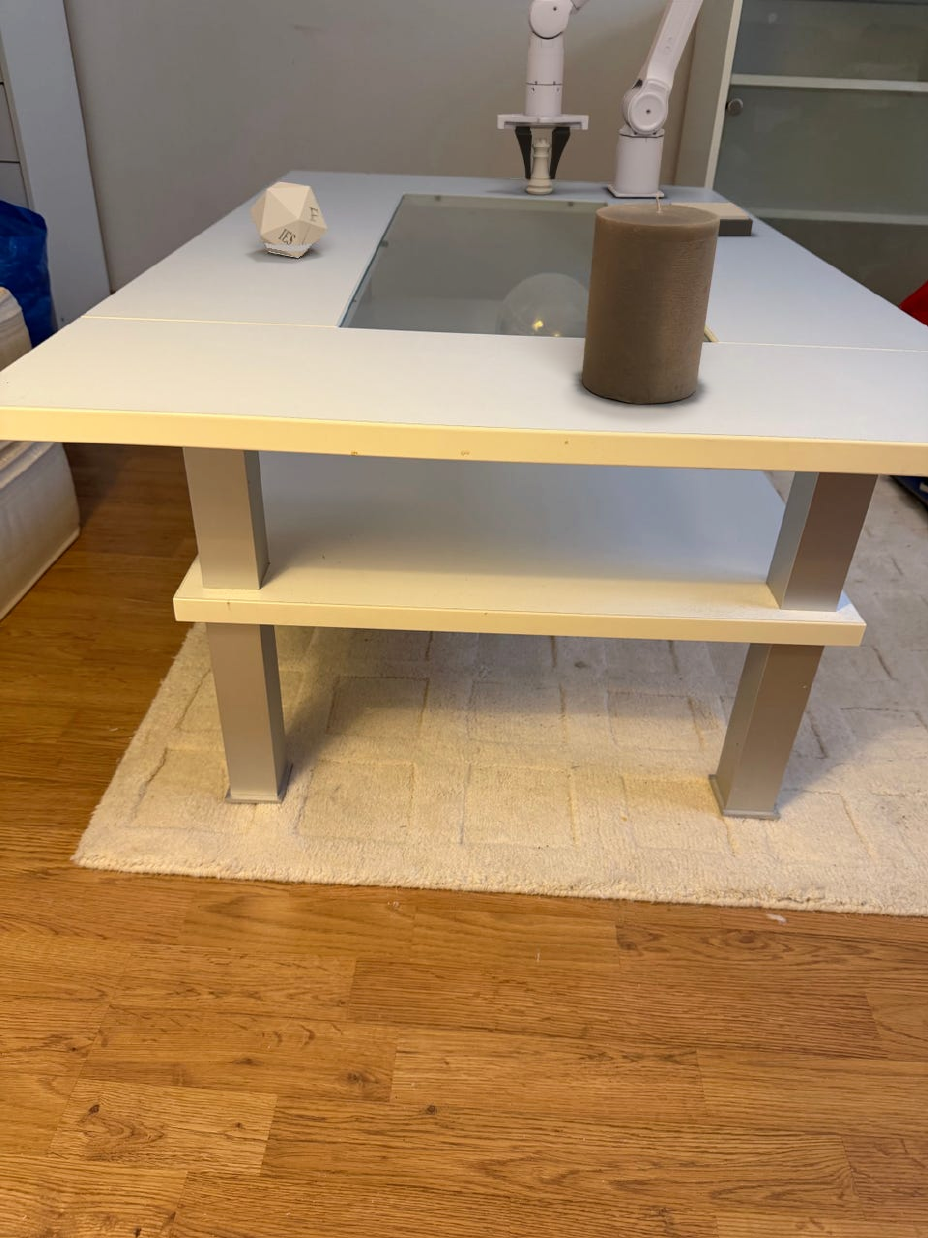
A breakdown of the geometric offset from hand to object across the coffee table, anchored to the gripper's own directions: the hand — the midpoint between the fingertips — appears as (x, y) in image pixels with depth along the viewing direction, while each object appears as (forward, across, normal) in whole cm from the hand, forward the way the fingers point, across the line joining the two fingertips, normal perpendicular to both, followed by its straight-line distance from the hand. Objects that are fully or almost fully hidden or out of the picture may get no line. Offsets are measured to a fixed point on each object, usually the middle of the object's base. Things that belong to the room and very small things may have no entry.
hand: (539, 177), depth 157 cm
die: (+2, -36, -44) cm, 57 cm away
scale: (+2, +21, -28) cm, 35 cm away
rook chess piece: (+2, 0, 0) cm, 2 cm away
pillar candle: (+2, -1, -92) cm, 92 cm away
